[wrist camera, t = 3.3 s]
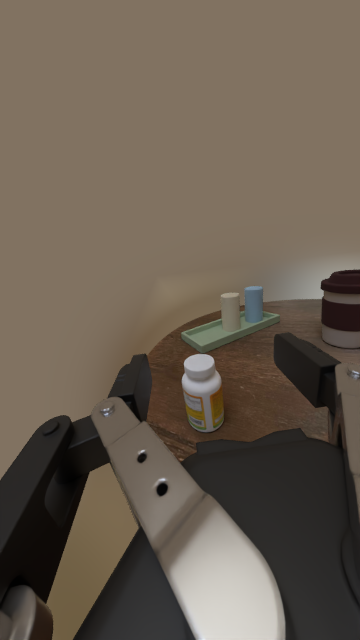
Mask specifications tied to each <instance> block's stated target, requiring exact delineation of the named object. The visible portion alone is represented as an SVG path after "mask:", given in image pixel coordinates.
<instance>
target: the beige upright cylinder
mask: <svg viewBox="0 0 360 640" xmlns="http://www.w3.org/2000/svg"><path fill="white" fill-rule="evenodd" d="M220 297H221V312H222V326H223V330H224V331H226V332H235V331H237V330H240V303H239V302H240V301H239V294H238V293H226V294H222V295H221V296H220Z"/></svg>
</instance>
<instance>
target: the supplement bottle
mask: <svg viewBox="0 0 360 640" xmlns="http://www.w3.org/2000/svg"><path fill="white" fill-rule="evenodd" d="M184 368H185V374H184V375H183V378H182V387H183V393H184V398H185V404H186V410H187V416H188V420H189V423H190V424H191V426H192V427H193V428H195V429H196V430H198V431H201V432H212V431H214V430H216V429H218V428H219V427H220V426H221V425H222V423H223V421H224V407H223V395H222V383H221V377H220V375H219V373H218V372H217V371H216V370H215V364H214V359H213V358H212V357H211V356H209V355H205V354H196V355H193V356H190V357H189V358H187V359H186V360H185V362H184Z"/></svg>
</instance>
